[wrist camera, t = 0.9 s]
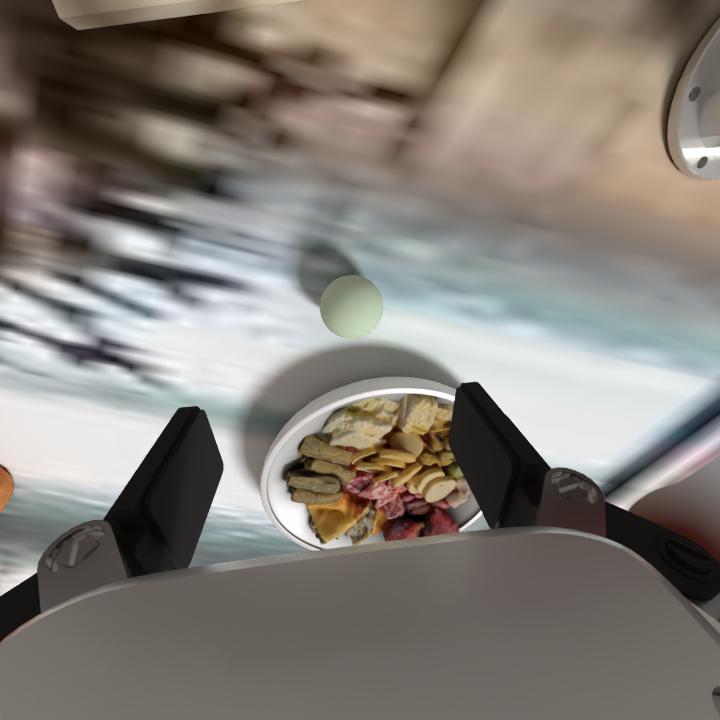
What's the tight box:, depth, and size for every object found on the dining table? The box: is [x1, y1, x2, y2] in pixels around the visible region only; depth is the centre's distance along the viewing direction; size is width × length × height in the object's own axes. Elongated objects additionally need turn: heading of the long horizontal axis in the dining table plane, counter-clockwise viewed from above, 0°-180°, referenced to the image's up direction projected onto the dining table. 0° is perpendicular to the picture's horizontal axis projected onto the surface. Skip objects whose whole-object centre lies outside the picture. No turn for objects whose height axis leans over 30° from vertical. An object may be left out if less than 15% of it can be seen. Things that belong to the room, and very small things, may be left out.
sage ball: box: [320, 275, 383, 339], centre depth 27 cm, size 6×6×6 cm
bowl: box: [260, 376, 482, 551], centre depth 38 cm, size 30×30×8 cm
